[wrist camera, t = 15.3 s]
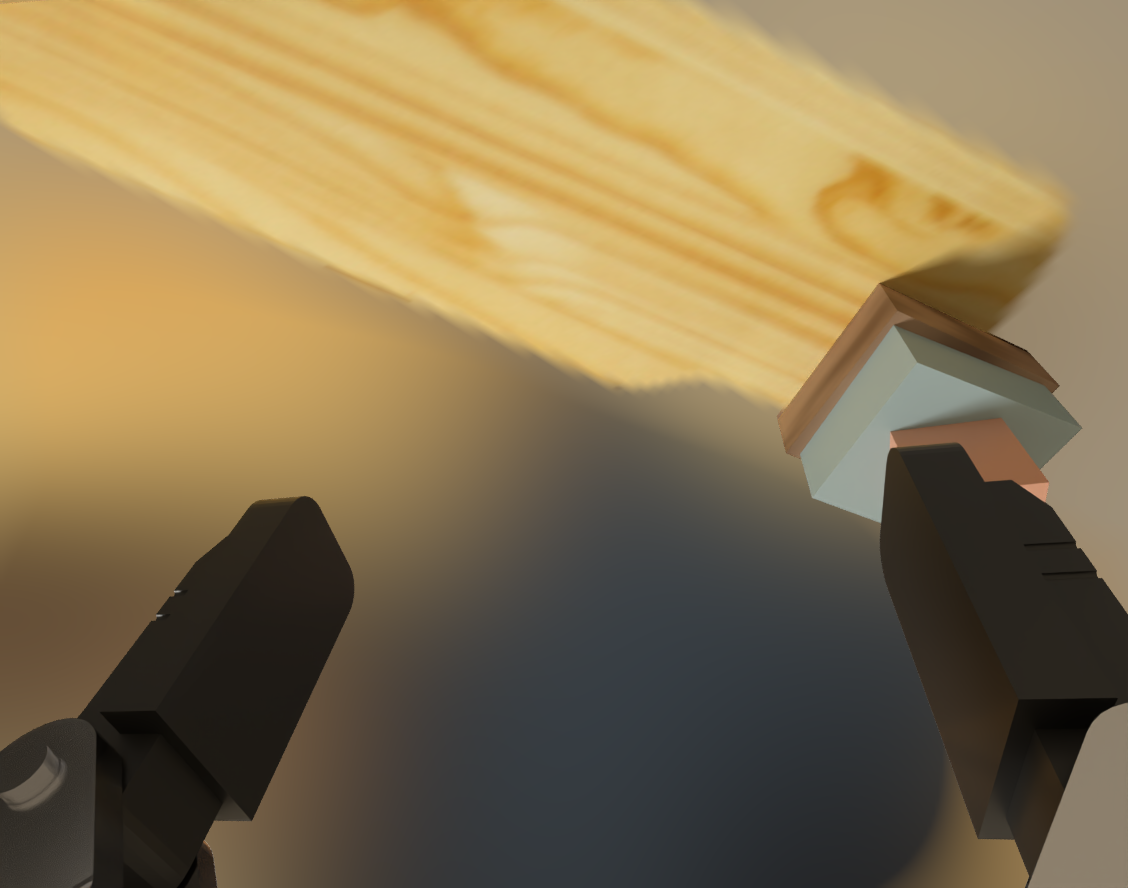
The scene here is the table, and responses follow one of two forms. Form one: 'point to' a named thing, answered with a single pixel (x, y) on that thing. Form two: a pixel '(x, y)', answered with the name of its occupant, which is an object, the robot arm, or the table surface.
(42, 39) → the table surface
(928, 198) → the table surface
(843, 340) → the tower base block
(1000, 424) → the terracotta block
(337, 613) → the robot arm
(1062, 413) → the tower top block
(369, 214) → the table surface
